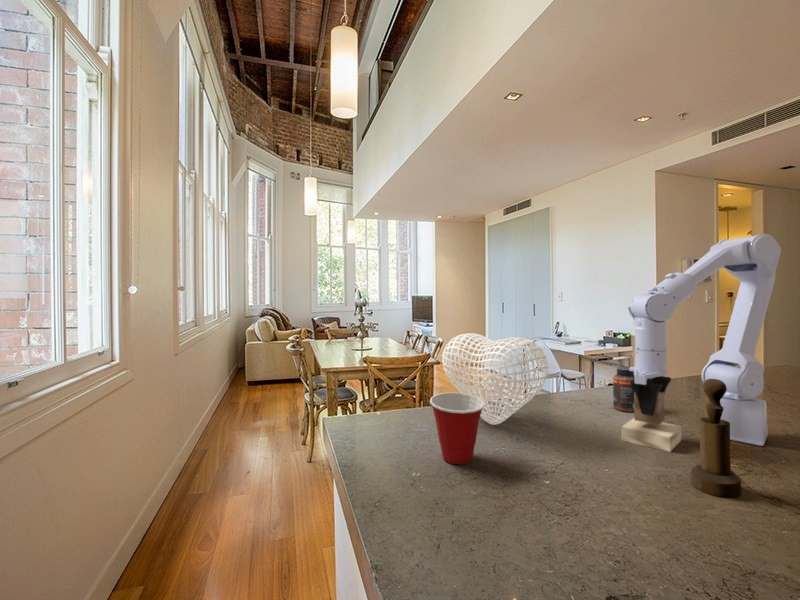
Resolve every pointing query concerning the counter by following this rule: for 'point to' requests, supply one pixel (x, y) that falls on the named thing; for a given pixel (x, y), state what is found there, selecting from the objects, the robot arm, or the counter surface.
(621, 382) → the supplement bottle
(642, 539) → the counter surface
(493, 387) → the heart
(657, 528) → the counter surface
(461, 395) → the plastic cup
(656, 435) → the birch base block
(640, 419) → the walnut block
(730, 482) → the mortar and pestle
